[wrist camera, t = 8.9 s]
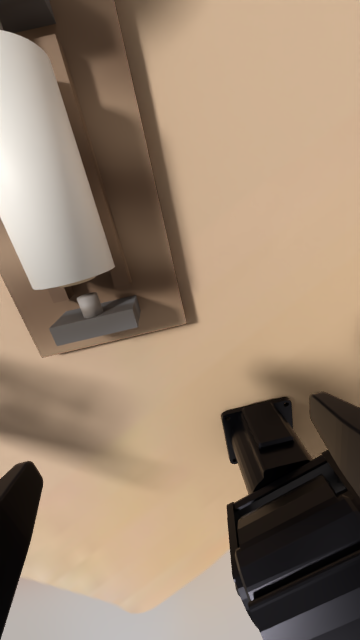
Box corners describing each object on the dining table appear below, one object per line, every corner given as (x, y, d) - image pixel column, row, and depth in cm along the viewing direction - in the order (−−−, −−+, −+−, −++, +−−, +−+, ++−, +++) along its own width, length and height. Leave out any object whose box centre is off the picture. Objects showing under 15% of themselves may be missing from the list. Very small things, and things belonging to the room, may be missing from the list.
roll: (121, 265, 16) (108, 281, 12) (54, 281, 16) (18, 302, 12) (63, 74, 12) (16, 2, 8) (-24, 95, 12) (-113, 33, 8)
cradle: (185, 318, 19) (192, 341, 16) (47, 351, 19) (21, 381, 16) (100, -60, 12) (75, -188, 8) (-126, -9, 12) (-254, -114, 8)
